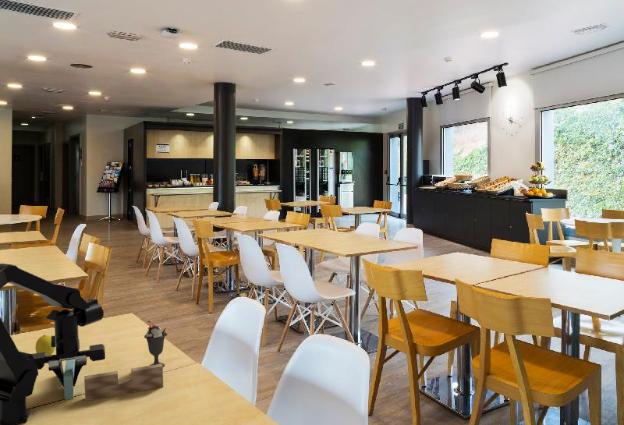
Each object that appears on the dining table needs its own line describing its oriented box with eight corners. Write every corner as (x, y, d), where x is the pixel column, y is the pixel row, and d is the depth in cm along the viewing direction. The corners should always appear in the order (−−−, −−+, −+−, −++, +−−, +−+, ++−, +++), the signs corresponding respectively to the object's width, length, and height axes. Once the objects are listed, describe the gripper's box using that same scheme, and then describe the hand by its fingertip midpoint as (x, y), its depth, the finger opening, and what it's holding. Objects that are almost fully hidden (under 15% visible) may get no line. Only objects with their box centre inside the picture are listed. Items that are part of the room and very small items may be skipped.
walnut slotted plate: (162, 383, 138) (161, 363, 137) (163, 386, 136) (162, 366, 136) (85, 397, 130) (84, 376, 129) (85, 400, 128) (84, 379, 127)
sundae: (140, 368, 149) (138, 321, 147) (156, 360, 155) (155, 315, 153) (156, 372, 146) (154, 324, 144) (172, 364, 152) (170, 318, 150)
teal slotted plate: (73, 398, 129) (72, 376, 129) (64, 399, 129) (63, 378, 128) (75, 370, 148) (74, 351, 147) (68, 371, 147) (67, 352, 146)
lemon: (47, 362, 153) (45, 338, 153) (32, 361, 154) (30, 337, 154) (59, 355, 159) (58, 332, 158) (44, 354, 160) (43, 331, 159)
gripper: (103, 318, 143) (105, 369, 144) (30, 327, 135) (33, 381, 136) (104, 330, 133) (106, 384, 134) (25, 340, 125) (29, 398, 126)
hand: (69, 386), depth 133 cm, fingers closed on teal slotted plate, 2 cm apart
